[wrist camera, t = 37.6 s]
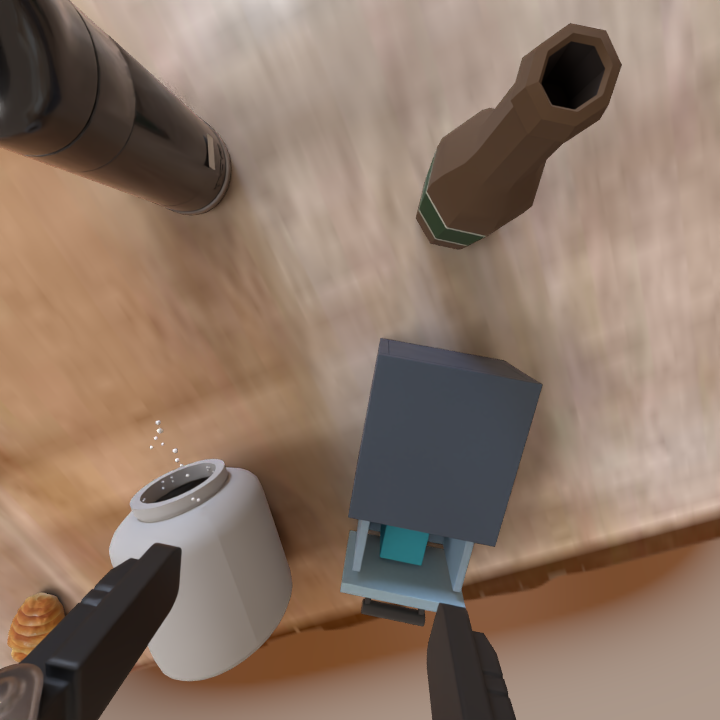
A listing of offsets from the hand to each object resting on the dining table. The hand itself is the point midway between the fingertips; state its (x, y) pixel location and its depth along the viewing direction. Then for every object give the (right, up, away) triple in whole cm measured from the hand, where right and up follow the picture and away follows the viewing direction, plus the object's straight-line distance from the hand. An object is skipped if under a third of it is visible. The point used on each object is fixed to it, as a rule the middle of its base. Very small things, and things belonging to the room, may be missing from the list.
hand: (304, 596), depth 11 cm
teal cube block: (+7, -11, +30) cm, 33 cm away
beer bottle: (+11, +22, +26) cm, 36 cm away
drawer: (+7, -11, +32) cm, 34 cm away
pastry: (-44, -30, +41) cm, 67 cm away
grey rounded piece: (-17, -9, +34) cm, 39 cm away
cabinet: (+9, +1, +30) cm, 31 cm away
